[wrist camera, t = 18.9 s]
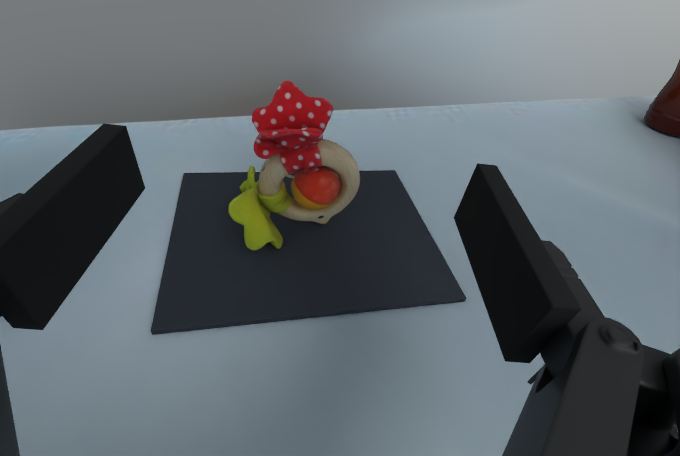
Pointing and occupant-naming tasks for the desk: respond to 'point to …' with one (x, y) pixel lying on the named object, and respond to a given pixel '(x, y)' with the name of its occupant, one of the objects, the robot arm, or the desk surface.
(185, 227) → the mat
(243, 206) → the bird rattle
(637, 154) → the desk surface
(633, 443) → the robot arm
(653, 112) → the mug
